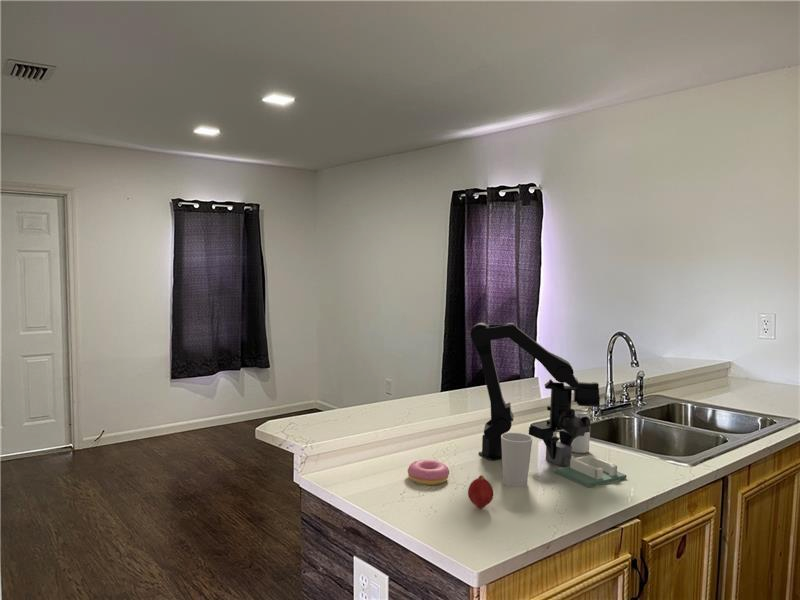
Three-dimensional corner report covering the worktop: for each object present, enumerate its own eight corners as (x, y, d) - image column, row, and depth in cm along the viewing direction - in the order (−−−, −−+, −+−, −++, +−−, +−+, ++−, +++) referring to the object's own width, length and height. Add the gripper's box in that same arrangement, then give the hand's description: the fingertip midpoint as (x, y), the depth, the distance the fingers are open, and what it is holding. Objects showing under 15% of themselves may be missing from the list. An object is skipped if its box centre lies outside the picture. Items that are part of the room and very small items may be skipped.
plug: (563, 466, 166) (564, 449, 165) (545, 459, 172) (546, 442, 172) (573, 464, 168) (574, 447, 167) (555, 457, 174) (556, 440, 173)
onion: (465, 503, 139) (466, 470, 139) (489, 503, 140) (490, 470, 139) (470, 514, 134) (471, 479, 133) (495, 513, 134) (496, 479, 134)
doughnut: (401, 474, 158) (401, 459, 157) (438, 470, 162) (439, 455, 161) (416, 489, 148) (417, 473, 147) (456, 484, 151) (456, 468, 151)
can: (590, 454, 177) (592, 415, 176) (567, 452, 178) (569, 413, 178) (587, 448, 183) (589, 410, 183) (566, 446, 185) (567, 408, 184)
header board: (588, 487, 151) (589, 474, 151) (555, 472, 162) (555, 459, 161) (626, 478, 158) (627, 465, 158) (591, 464, 168) (592, 452, 168)
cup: (532, 479, 156) (534, 434, 155) (528, 490, 148) (530, 443, 148) (502, 475, 158) (503, 431, 158) (496, 485, 151) (498, 439, 150)
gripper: (556, 414, 158) (554, 472, 159) (606, 407, 167) (603, 461, 168) (528, 405, 167) (526, 459, 168) (576, 398, 176) (574, 450, 177)
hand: (558, 457), depth 170 cm, fingers closed on plug, 4 cm apart
